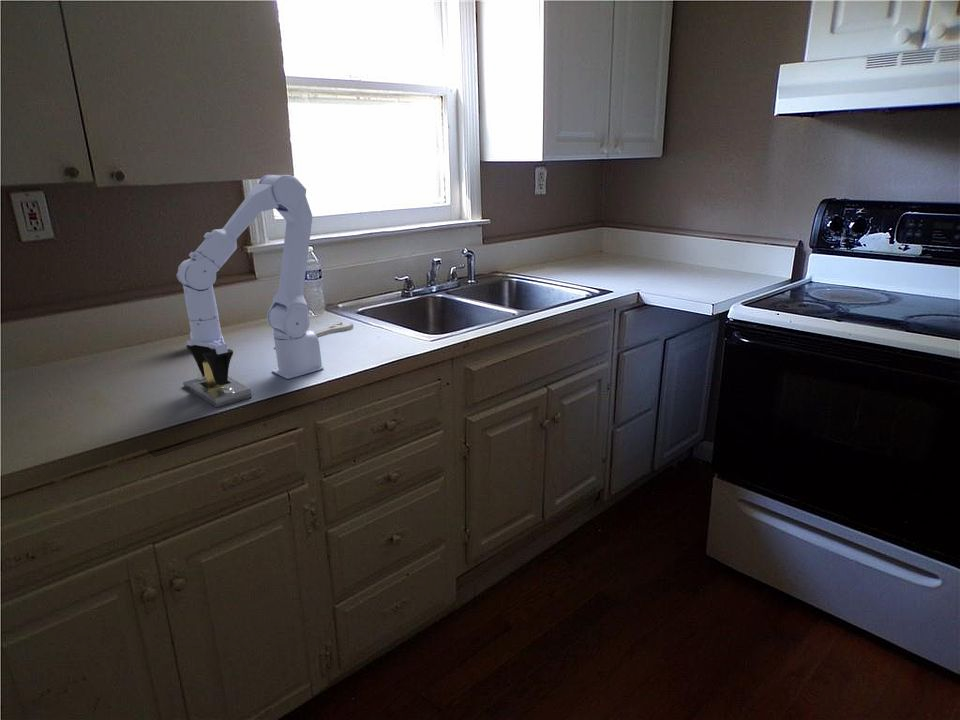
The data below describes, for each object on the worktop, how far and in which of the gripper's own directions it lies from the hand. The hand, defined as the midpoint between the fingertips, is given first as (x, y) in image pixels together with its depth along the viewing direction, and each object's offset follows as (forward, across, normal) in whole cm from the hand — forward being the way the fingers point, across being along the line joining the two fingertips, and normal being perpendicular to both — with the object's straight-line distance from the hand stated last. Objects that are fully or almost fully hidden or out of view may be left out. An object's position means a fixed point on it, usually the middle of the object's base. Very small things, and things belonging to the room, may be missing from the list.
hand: (214, 378), depth 134 cm
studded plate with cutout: (+3, 0, 0) cm, 3 cm away
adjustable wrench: (+4, -22, +36) cm, 43 cm away
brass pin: (+3, 0, 0) cm, 3 cm away
